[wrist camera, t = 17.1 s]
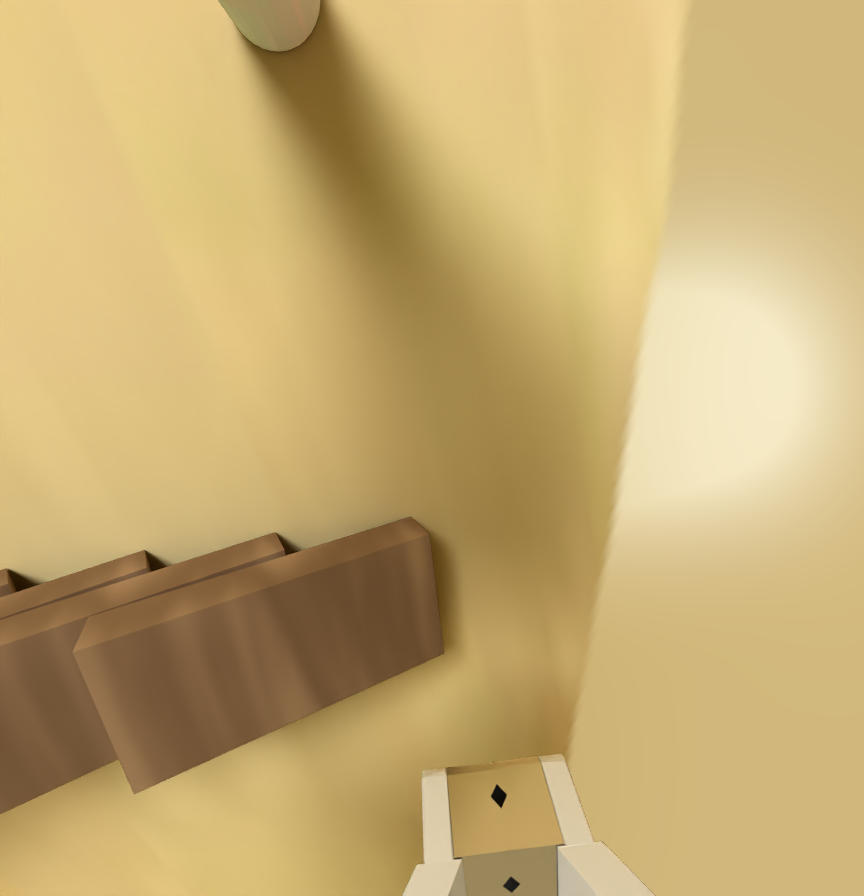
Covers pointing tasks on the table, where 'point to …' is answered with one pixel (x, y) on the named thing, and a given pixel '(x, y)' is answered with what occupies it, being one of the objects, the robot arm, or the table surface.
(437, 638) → the domino
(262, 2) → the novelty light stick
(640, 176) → the table surface
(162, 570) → the domino
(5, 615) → the domino
